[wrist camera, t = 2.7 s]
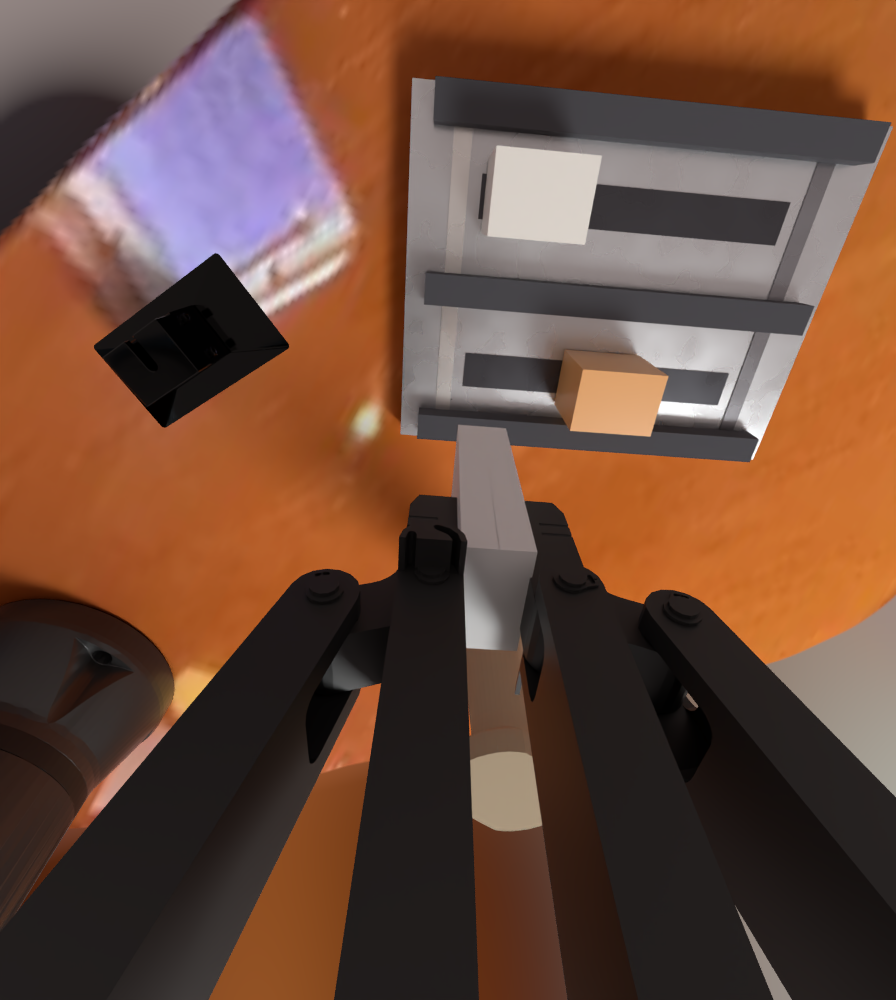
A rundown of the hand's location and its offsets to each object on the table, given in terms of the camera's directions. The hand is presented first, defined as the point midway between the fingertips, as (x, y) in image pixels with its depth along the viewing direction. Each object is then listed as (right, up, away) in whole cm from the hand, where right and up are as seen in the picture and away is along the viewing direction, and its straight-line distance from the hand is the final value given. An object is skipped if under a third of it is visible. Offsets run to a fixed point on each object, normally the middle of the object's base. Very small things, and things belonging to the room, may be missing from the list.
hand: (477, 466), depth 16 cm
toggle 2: (+7, +5, +11) cm, 14 cm away
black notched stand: (-15, +8, +12) cm, 21 cm away
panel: (+7, +10, +10) cm, 16 cm away
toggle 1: (+3, +13, +7) cm, 15 cm away
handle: (+2, -7, +20) cm, 22 cm away
